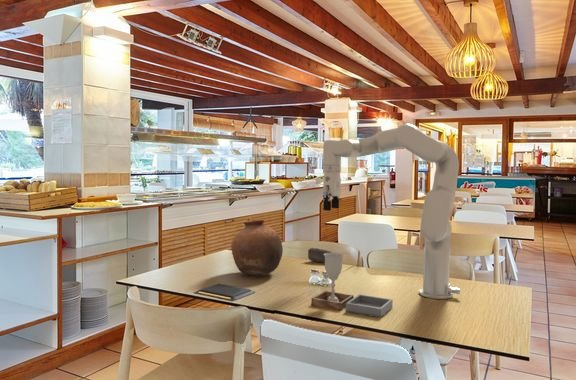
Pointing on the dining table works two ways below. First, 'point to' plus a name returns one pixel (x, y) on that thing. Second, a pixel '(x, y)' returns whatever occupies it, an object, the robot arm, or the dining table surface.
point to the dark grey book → (225, 292)
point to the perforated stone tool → (317, 255)
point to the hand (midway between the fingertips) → (331, 209)
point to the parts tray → (369, 305)
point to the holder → (331, 304)
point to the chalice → (333, 270)
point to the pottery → (256, 249)
